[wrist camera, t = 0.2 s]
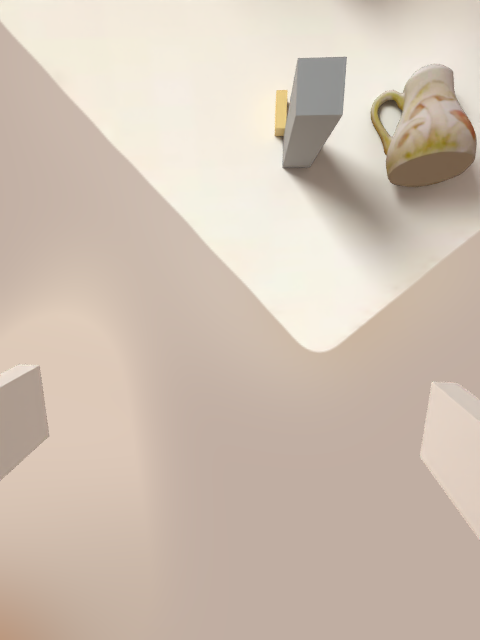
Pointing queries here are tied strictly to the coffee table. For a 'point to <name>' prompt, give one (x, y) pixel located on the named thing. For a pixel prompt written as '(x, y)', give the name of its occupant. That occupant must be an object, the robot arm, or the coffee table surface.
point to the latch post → (310, 109)
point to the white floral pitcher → (426, 130)
